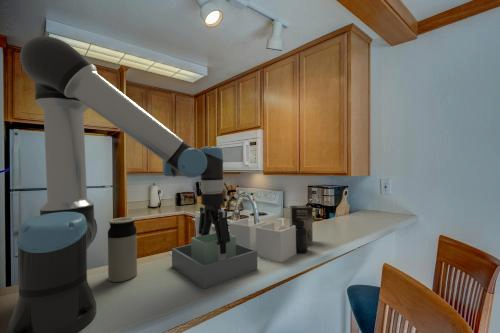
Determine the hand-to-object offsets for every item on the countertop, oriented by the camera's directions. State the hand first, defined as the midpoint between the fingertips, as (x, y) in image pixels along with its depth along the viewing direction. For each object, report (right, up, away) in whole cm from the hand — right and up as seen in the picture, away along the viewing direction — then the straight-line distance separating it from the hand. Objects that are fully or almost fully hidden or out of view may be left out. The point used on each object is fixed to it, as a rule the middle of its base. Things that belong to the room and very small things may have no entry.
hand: (213, 259), depth 83 cm
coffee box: (+35, -3, +25) cm, 43 cm away
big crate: (0, -3, 0) cm, 3 cm away
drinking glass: (-6, -3, +15) cm, 16 cm away
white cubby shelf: (+17, -3, +15) cm, 23 cm away
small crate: (0, -1, 0) cm, 1 cm away
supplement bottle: (+32, -3, +15) cm, 35 cm away
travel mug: (-28, -3, -6) cm, 28 cm away
